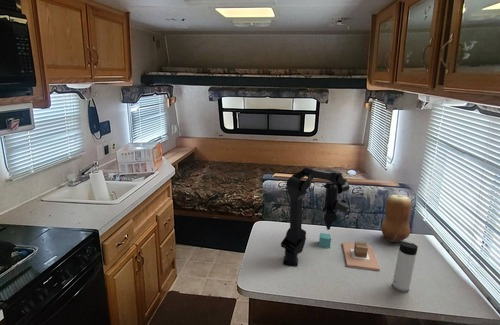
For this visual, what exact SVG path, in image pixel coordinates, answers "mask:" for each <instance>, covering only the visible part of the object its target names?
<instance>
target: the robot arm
mask: <svg viewBox="0 0 500 325" xmlns="http://www.w3.org/2000/svg"><path fill="white" fill-rule="evenodd" d="M303 178H307V179H306V180H303ZM313 179H317V180H324V181H326V183H325V184H324V185H323V188H325V193H324V198H323V199H322V200H321V207H322V211H323V212H322V213H323V221H324V224H325V226H326V230H328V231H330V230H331V227H332V225H333V223H334V222H336V221H338V218H339V215H338V212H337V211H340V212H342V213H343V214H346V213H347V211H348V210H349V208H350V207H349V205H348V203H347V201H346V199H344V198H341V199H338V195H341V194H344V193H347V192H349V190H350V184H349V182H348V179H347V178H344V177H343V174H342V172H341V171H337V170H335V169H332V168H331V169H330V168H328V169H327V168H326V169H325V170H321V169H316V168H311V167H308V166H307V167H304V168H303V169H302V170H300V171H298V172H295V173H293V174H292V175H291V176H290V177H289V178H288V179H287V181H286V183H285V184H286V185H285V186H286V191H287V192H286V193H287V194H288V196H289V199H290V201H289V202H290V205H289V206H290V207H289V208H290V209H289V214H290V215H289V220H290V221H289V228H288V229H287V230H286V233H285V237H284V238H283V239H282V241H281V243H280V247H281V248H282V249H284V255H283V260H282V265H284V266H290V267H291V266H292V267H298V266H299V265H298V264H299V257H298V254H299V255H300V254H301V253H302V252H303V250H304V247H305V244H306V240H307V231H306V230H304V229H302V228H303V227H302V220H303V219H302V217H303V215H302V213H303V198H304V197H305V196H306V194H307V190H308V189H309V188H310V187H311V186H312V181H313ZM329 182H330V183H329Z"/></svg>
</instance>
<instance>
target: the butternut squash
mask: <svg viewBox="0 0 500 325" xmlns="http://www.w3.org/2000/svg"><path fill="white" fill-rule="evenodd" d="M385 201H386V202H385V209H384V210H385V212H384V213H385V218H384V219H383V221H382V224H381V233H382V235H383V237H384V238H385V239H387V240H388V241H389V242H391V243H401V242H403V241H404V240H405V239H408V238H409V237H410V234H411V228H410V223H409V222H410V219H411V214H412V200H411V198H409V196H407V195H403V194H390V195H388V196H387V198H386V200H385Z"/></svg>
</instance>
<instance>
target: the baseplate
mask: <svg viewBox="0 0 500 325" xmlns="http://www.w3.org/2000/svg"><path fill="white" fill-rule="evenodd" d="M341 246H342V250H343V255H344V259H345V264H346V267H348V268H355V269H364V270H369V271H370V270H371V271H381V268H380V264H379V262H378V260H377V257H376V254H375V251H374V249H373V246H372V245H369V244H367V247H368V251H367V258H364V257H356V256H355V254H354V246H355V242H354V243H352V242H346V241H345V242H344V241H342V245H341Z"/></svg>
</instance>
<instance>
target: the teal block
mask: <svg viewBox="0 0 500 325" xmlns="http://www.w3.org/2000/svg"><path fill="white" fill-rule="evenodd" d="M331 236H332V235H331V234H330V233H325V232H320V233H319V238H318V239H319V240H318V243H319V244H318V246H319V247H320V248H326V249H330V248H331V242H332V241H331V240H332V238H331Z"/></svg>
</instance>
